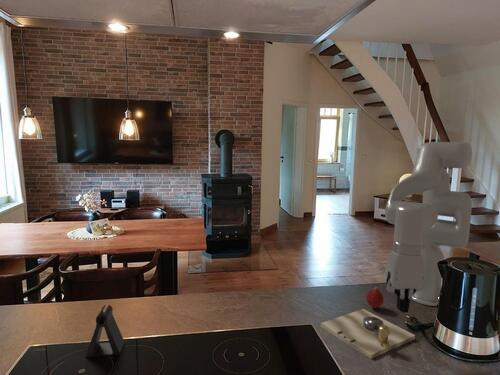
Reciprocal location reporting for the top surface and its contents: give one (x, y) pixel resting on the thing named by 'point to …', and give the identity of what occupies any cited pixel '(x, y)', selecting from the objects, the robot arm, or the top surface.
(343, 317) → the stand board
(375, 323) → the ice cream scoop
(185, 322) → the top surface
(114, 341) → the dark triangular stand
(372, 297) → the onion
